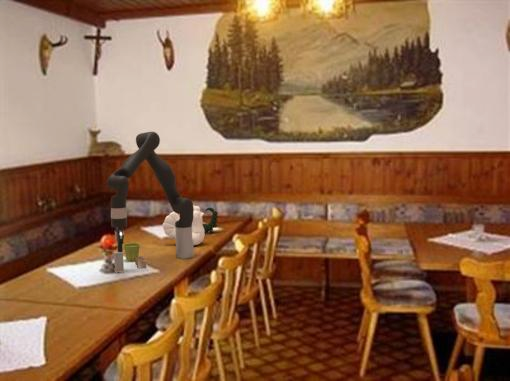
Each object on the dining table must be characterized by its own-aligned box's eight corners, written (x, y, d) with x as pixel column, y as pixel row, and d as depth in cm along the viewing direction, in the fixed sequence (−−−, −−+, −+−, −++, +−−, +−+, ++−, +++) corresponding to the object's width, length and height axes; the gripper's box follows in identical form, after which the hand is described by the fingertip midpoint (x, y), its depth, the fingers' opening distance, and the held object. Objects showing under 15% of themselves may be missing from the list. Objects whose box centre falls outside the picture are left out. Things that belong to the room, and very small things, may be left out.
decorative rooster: (207, 242, 343) (206, 203, 340) (200, 248, 327) (199, 207, 324) (169, 241, 347) (168, 203, 344) (160, 247, 332) (159, 206, 329)
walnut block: (146, 267, 283) (142, 263, 292) (146, 260, 282) (142, 256, 292) (138, 268, 281) (135, 264, 291) (138, 261, 281) (135, 256, 290)
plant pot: (136, 262, 294) (136, 246, 293) (120, 261, 296) (119, 246, 295) (143, 258, 304) (143, 243, 303) (127, 257, 305) (127, 242, 304)
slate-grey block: (122, 270, 279) (121, 251, 277) (123, 272, 275) (123, 252, 274) (114, 271, 277) (113, 251, 276) (115, 273, 273) (114, 253, 272)
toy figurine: (217, 234, 378) (182, 230, 381) (219, 207, 376) (183, 203, 378) (215, 237, 369) (178, 233, 371) (216, 209, 366) (180, 205, 369)
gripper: (128, 218, 261) (129, 254, 262) (124, 214, 273) (125, 248, 275) (112, 219, 258) (113, 255, 260) (109, 215, 270) (110, 249, 272)
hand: (120, 251), depth 267 cm, fingers closed
